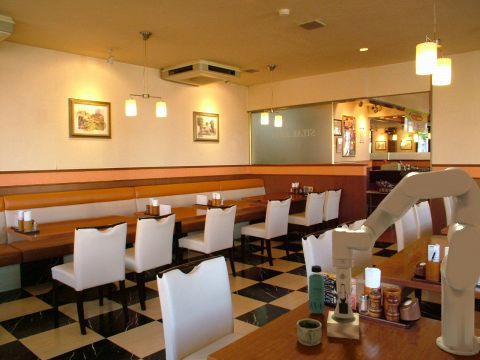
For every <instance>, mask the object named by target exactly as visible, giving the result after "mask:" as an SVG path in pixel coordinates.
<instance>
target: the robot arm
mask: <svg viewBox="0 0 480 360" xmlns="http://www.w3.org/2000/svg"><path fill="white" fill-rule="evenodd" d="M450 197H451V200H452V206H451V213H450V214H451V215H450V221H449V225H448V231H447V241H448V248H447V249H448V251H447V254H445V256H444V257H443V258H442V260H441V263H440V276H441V277H440V279H441V280H440V281H441V336H439V337H437V338H436V341H435V342H436V346H437V347H439V348H440V349H441V350H443V351H444V352H447V353H449V354H450V353H451V354H452V355H458V356H470V357H471V356H475V355H477V354H480V353H479V352H480V336H476V335H475V287H476V286H477V285H478V283H479V281H480V186H479V184H478V183H477V182H476V180H475V179H474V178H473V177H472V176H471V175H470V174H469V173H468V172H467V171H466V170H464V169H463V168H460V167H453V166H451V167H448V168H446V169H442V170H441V169H440V170H434V171H427V172H425V171H423V172H419V171H412V172H409V173H407V174H406V175H405V176H404V177H403V178H402V179H401V180H400V181H399V182H398V183H397V184H396V185H395V187H394V188H392V190H391V191H390V192H389V193H388V194H387V195H386V196H385V197H384V199H382V201H380V203H379V204H378V205H377V207H376V208H375V210H374V211H373V212H372V213H371V214H370V215H369V216H368V217H367V218H366V219H365V221H363V223H362V224H361V225H360V226H359V227H358V228H357V229H356V230H352V229H351V228H348V227H336V228H334V229H332V230H331V255H332V257H331V258H332V259H331V260H332V267H333V268H335V283H336V294H337V295H338V300H339V313H340V314H348V303H347V297H348V296H350V297H351V296H352V268H353V267H354V265H355V264H354V251H357V252H368V251H371V250H372V249H373V248H374V246H375V243H376V241H377V240H378V239H379V237H380V236H381V235H382V234H383V233H384V232H385V231H386V230H387V229H388V228H389V227H391V226H392V225H393V224H395V223H397V222H399V221H400V220H401V219H402V218H403V217H404V216H405V215H406V214H407V213H408V212H409V211H410V210H411V209H412V208H413V206H414V205H416V203H418V202H419V201H420V200H425V199H437V198H450ZM340 293H341V294H340ZM345 293H346V294H345ZM345 296H346V298H345ZM348 298H349V297H348Z"/></svg>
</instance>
